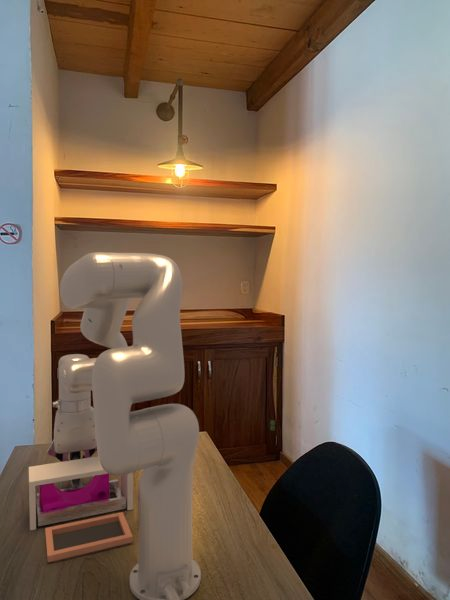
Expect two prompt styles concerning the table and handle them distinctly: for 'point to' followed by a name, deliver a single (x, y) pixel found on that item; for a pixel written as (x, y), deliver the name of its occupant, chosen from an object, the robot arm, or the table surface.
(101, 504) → the slider
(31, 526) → the tunnel
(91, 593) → the table surface
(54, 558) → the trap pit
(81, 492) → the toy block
